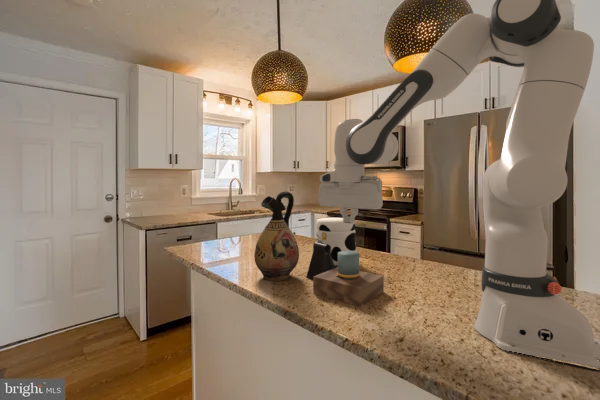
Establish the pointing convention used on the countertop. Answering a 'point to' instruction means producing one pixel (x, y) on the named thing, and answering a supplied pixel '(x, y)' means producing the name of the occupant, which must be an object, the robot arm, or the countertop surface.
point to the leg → (348, 264)
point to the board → (348, 287)
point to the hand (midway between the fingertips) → (348, 223)
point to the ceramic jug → (277, 241)
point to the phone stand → (320, 260)
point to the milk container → (336, 236)
